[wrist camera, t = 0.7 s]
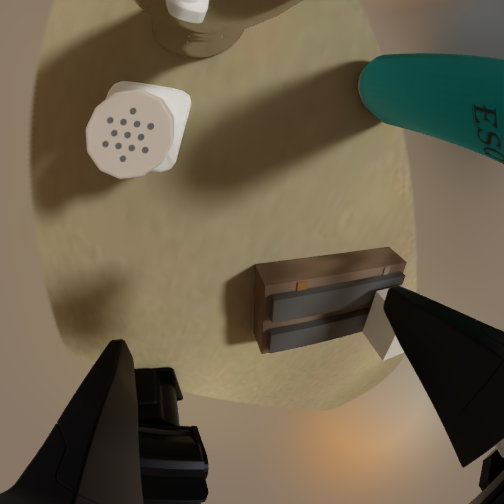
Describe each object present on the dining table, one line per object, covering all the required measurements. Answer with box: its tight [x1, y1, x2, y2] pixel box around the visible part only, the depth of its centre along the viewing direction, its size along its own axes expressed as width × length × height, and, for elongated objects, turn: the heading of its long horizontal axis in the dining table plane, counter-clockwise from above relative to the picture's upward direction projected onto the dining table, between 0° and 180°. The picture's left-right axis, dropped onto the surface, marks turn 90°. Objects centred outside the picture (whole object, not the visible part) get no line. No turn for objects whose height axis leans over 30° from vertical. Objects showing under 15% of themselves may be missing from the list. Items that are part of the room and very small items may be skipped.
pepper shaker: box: [86, 81, 191, 179], centre depth 12 cm, size 4×4×10 cm
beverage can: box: [358, 53, 504, 164], centre depth 12 cm, size 6×6×15 cm
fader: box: [362, 284, 410, 360], centre depth 23 cm, size 4×5×5 cm
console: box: [254, 247, 406, 354], centre depth 26 cm, size 14×8×4 cm, turn 89°
